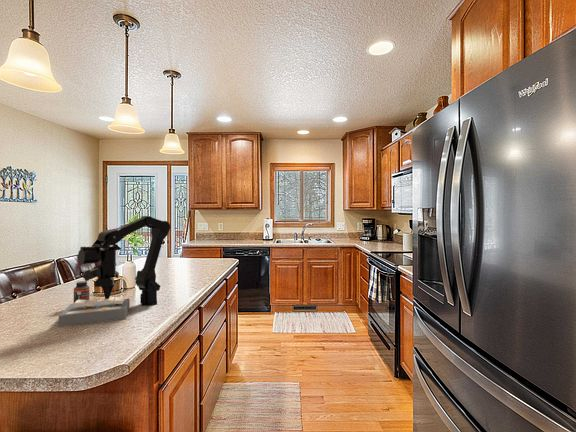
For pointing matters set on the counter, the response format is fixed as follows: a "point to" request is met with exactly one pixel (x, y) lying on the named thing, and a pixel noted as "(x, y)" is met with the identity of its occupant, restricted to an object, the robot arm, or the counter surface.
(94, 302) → the panel
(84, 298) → the supplement bottle
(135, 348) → the counter surface
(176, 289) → the counter surface
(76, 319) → the console
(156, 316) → the counter surface
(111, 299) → the block
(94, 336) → the counter surface
